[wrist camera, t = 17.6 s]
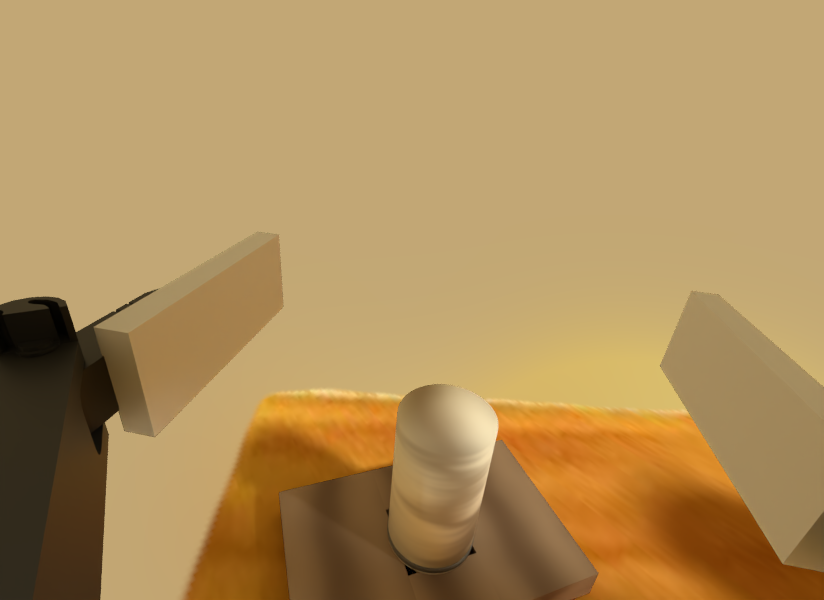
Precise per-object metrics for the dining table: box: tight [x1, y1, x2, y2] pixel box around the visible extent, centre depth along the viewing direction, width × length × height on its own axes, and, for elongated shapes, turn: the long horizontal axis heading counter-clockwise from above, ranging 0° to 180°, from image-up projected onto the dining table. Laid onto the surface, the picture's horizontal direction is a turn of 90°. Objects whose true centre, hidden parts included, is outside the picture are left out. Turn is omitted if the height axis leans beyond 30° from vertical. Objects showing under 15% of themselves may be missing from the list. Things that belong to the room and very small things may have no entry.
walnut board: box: [279, 440, 598, 600], centre depth 34 cm, size 22×14×2 cm, turn 110°
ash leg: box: [387, 384, 498, 575], centre depth 32 cm, size 7×7×14 cm
